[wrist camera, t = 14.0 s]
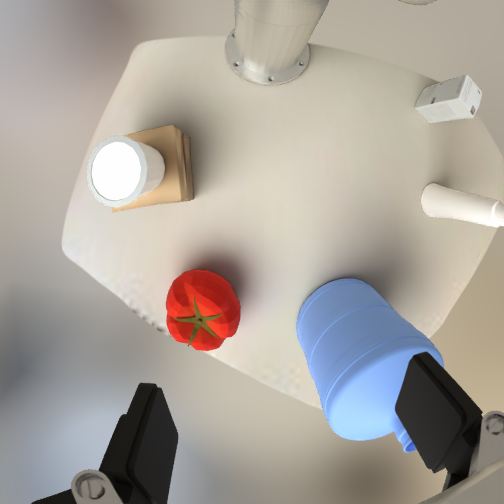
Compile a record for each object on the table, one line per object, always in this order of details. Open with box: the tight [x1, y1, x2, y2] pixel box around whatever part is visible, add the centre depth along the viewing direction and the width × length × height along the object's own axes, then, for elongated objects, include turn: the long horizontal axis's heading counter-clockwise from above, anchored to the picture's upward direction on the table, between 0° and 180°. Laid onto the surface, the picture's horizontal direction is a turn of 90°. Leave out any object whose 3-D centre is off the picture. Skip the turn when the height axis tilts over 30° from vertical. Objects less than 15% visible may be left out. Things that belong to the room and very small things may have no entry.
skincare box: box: [414, 75, 483, 123], centre depth 31 cm, size 6×4×12 cm
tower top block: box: [112, 125, 189, 212], centre depth 32 cm, size 9×9×4 cm
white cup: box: [86, 136, 165, 208], centre depth 26 cm, size 7×7×7 cm
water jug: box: [297, 279, 444, 452], centre depth 32 cm, size 16×16×28 cm
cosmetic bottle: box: [421, 183, 504, 227], centre depth 30 cm, size 6×6×22 cm
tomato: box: [166, 269, 241, 351], centre depth 39 cm, size 11×12×9 cm
